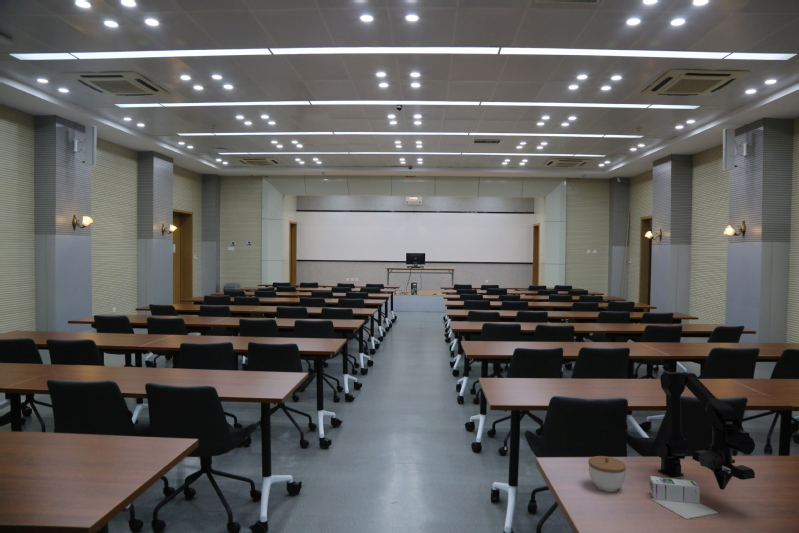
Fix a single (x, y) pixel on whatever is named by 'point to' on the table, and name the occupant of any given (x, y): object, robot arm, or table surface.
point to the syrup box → (674, 489)
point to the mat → (685, 508)
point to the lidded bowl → (607, 473)
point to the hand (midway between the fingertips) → (721, 489)
